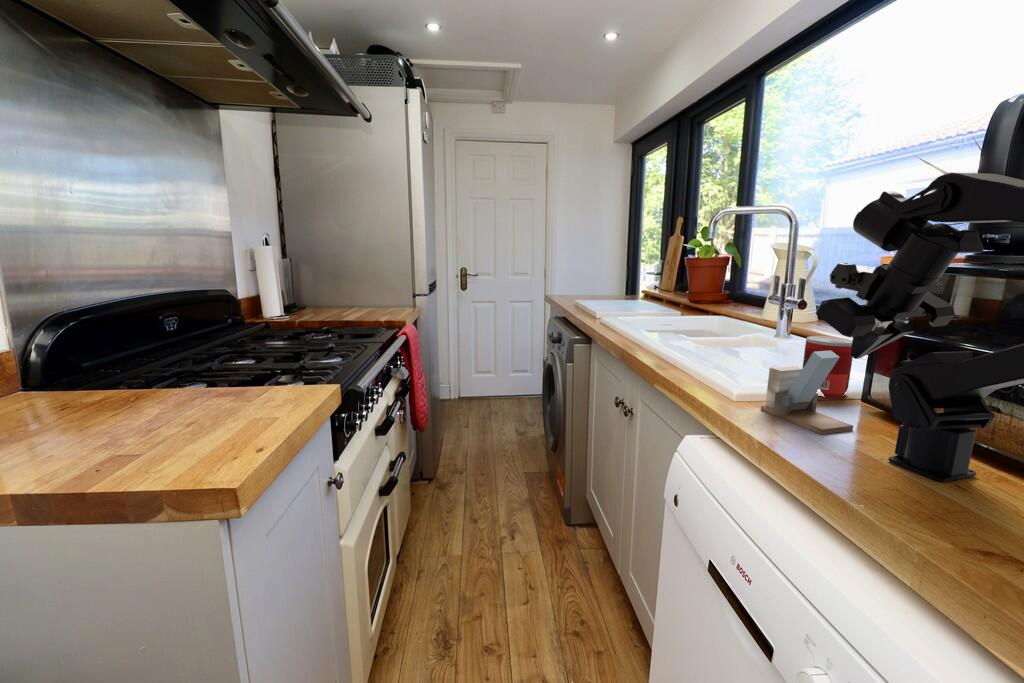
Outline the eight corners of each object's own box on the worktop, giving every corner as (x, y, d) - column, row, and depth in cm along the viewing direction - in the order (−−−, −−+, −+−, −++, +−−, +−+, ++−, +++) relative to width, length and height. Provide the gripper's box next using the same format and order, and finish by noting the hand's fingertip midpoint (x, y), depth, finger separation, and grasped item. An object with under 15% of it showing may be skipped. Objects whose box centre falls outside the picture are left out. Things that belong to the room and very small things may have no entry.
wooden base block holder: (852, 430, 74) (859, 382, 73) (821, 434, 72) (828, 386, 71) (789, 406, 85) (794, 365, 84) (760, 409, 84) (765, 367, 82)
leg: (805, 409, 81) (840, 357, 74) (787, 411, 80) (821, 358, 73) (798, 401, 82) (831, 350, 76) (780, 403, 81) (812, 351, 74)
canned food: (856, 398, 90) (864, 343, 88) (814, 398, 90) (821, 342, 88) (830, 387, 98) (837, 335, 96) (791, 387, 98) (798, 335, 96)
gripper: (915, 237, 71) (860, 321, 80) (814, 244, 66) (769, 331, 76) (989, 275, 62) (918, 363, 72) (879, 285, 58) (819, 377, 68)
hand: (854, 356), depth 72 cm, fingers closed
